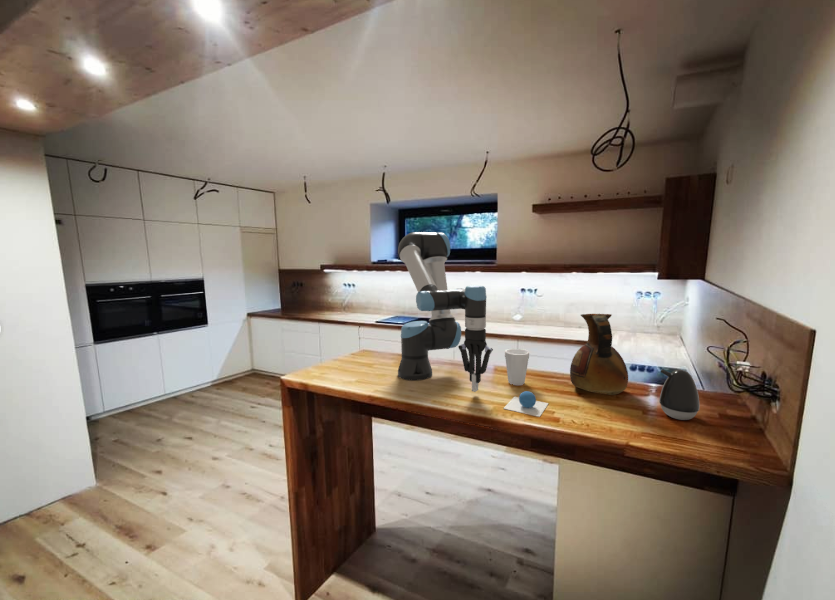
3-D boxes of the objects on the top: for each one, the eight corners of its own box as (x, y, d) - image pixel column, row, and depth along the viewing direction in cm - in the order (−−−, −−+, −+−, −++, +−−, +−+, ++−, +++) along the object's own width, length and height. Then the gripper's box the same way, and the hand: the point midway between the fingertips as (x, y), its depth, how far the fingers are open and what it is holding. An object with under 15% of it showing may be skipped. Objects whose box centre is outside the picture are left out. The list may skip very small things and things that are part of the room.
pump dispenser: (659, 406, 119) (662, 363, 118) (698, 415, 113) (702, 369, 111) (656, 417, 112) (659, 371, 110) (697, 427, 105) (702, 377, 103)
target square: (503, 408, 120) (503, 408, 120) (514, 396, 130) (514, 396, 130) (539, 417, 113) (539, 416, 113) (548, 403, 123) (548, 403, 123)
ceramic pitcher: (612, 382, 143) (616, 309, 140) (638, 402, 123) (643, 317, 120) (562, 381, 145) (565, 309, 142) (580, 400, 125) (583, 317, 122)
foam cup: (531, 386, 139) (532, 354, 138) (507, 387, 140) (508, 354, 138) (524, 378, 149) (525, 348, 147) (502, 378, 149) (502, 348, 148)
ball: (518, 391, 119) (534, 398, 116) (523, 386, 123) (539, 392, 120) (515, 406, 120) (531, 413, 117) (520, 400, 125) (536, 406, 122)
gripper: (454, 328, 129) (454, 390, 132) (488, 331, 122) (487, 397, 125) (463, 324, 135) (463, 384, 138) (496, 328, 128) (495, 390, 131)
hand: (475, 390), depth 131 cm, fingers closed
